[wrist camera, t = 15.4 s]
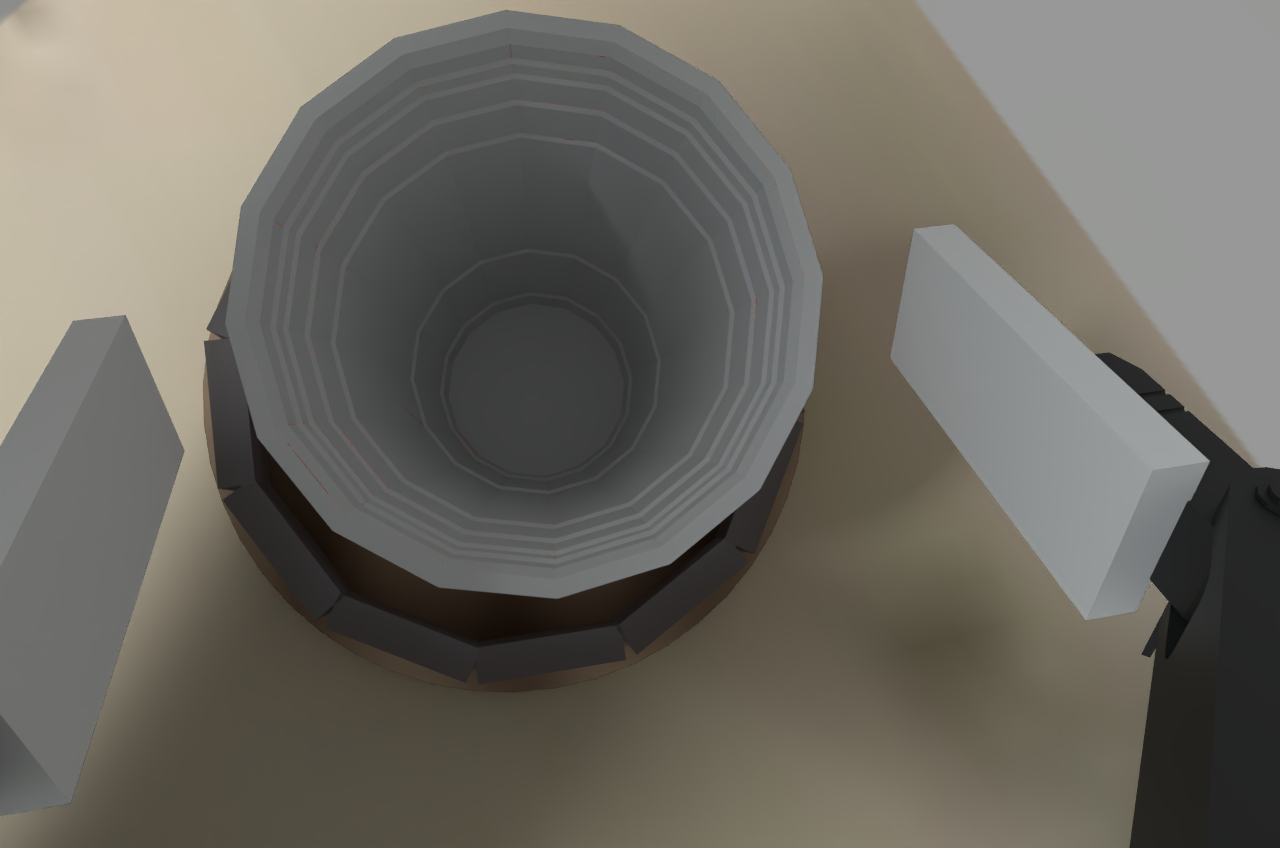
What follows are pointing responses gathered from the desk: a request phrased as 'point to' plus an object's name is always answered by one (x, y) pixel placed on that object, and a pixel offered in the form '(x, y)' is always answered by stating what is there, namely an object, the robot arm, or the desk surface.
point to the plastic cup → (524, 304)
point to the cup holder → (452, 618)
